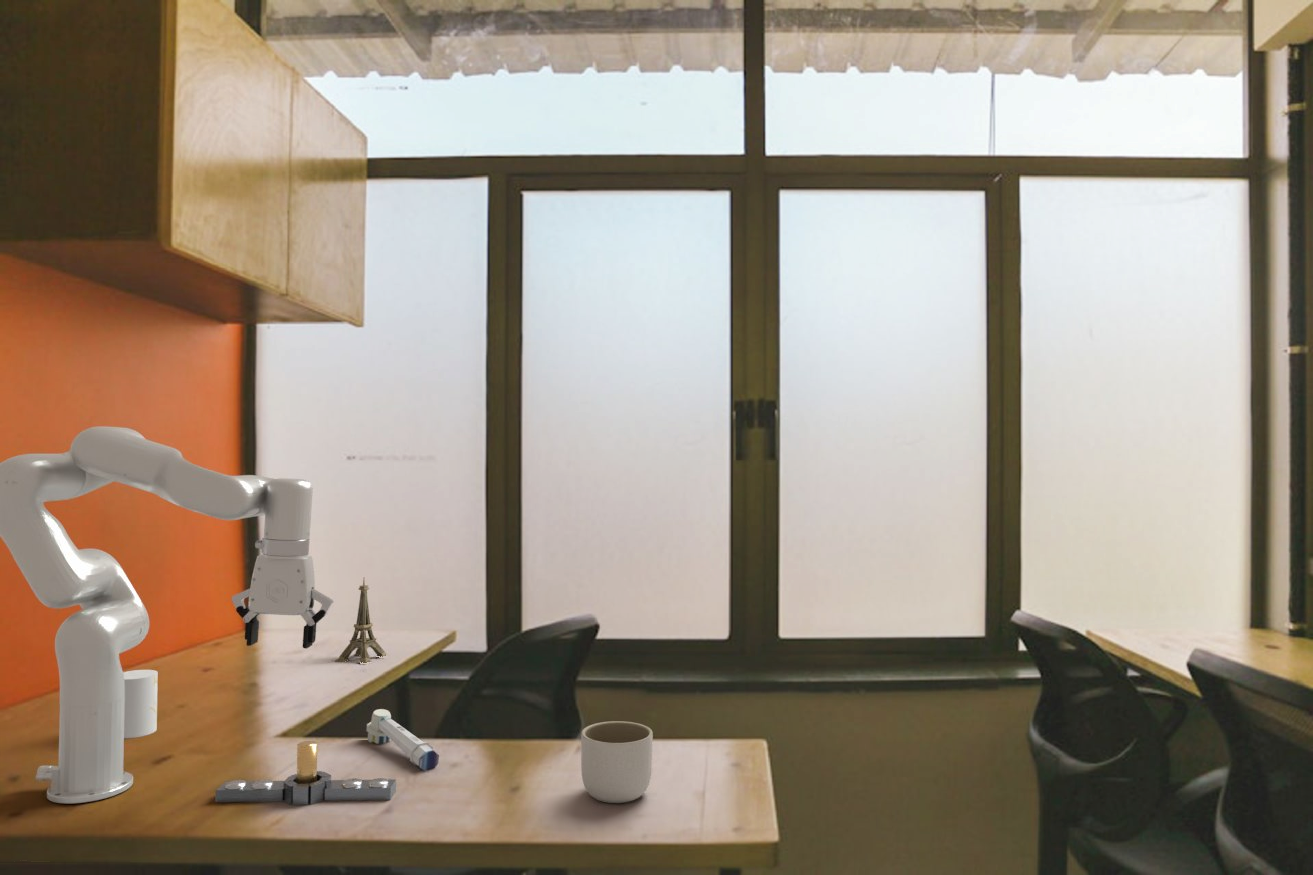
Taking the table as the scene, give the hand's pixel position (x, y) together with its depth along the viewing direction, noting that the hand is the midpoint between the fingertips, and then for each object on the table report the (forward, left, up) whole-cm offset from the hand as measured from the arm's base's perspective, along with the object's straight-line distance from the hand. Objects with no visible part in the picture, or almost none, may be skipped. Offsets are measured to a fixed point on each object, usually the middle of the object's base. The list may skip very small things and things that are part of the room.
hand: (279, 645), depth 155 cm
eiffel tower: (-10, +96, -25) cm, 100 cm away
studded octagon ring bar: (+7, -4, -25) cm, 26 cm away
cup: (-40, +32, -25) cm, 57 cm away
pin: (+6, -4, -25) cm, 26 cm away
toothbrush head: (+17, +18, -25) cm, 36 cm away
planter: (+60, -5, -25) cm, 65 cm away
